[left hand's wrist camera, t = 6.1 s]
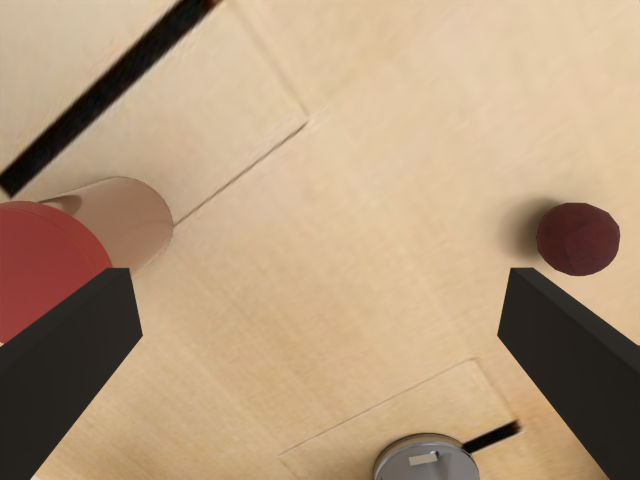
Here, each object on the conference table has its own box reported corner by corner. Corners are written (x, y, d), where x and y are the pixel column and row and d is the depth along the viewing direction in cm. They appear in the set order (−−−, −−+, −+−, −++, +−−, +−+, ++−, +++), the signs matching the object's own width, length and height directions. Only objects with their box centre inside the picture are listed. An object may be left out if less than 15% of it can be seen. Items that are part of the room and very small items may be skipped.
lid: (30, 351, 31) (8, 369, 29) (-68, 235, 27) (-102, 246, 25) (143, 304, 29) (129, 320, 27) (55, 176, 26) (31, 182, 23)
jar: (116, 273, 43) (14, 357, 29) (64, 198, 40) (-81, 249, 25) (189, 242, 42) (120, 313, 27) (141, 162, 39) (34, 193, 24)
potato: (538, 269, 43) (578, 299, 36) (512, 217, 40) (549, 239, 34) (598, 237, 41) (651, 262, 35) (575, 181, 39) (627, 196, 32)
